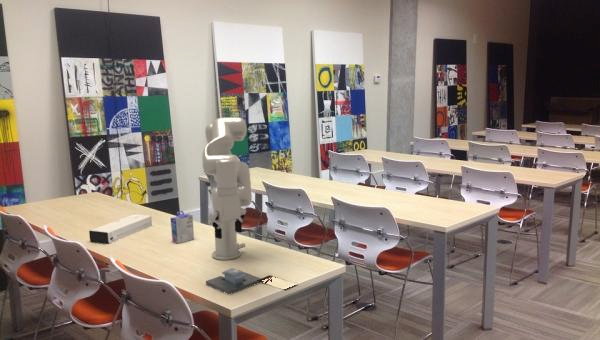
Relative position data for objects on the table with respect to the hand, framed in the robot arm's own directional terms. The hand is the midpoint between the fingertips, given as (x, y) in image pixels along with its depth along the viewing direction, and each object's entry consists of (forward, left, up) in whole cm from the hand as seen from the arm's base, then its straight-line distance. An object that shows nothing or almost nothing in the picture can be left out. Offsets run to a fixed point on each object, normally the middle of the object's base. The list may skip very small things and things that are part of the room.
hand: (228, 234), depth 197 cm
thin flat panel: (-11, +14, -19) cm, 27 cm away
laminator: (-4, -93, -19) cm, 95 cm away
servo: (0, +2, -19) cm, 19 cm away
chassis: (0, +2, -19) cm, 19 cm away
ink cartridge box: (-18, -60, -19) cm, 65 cm away
